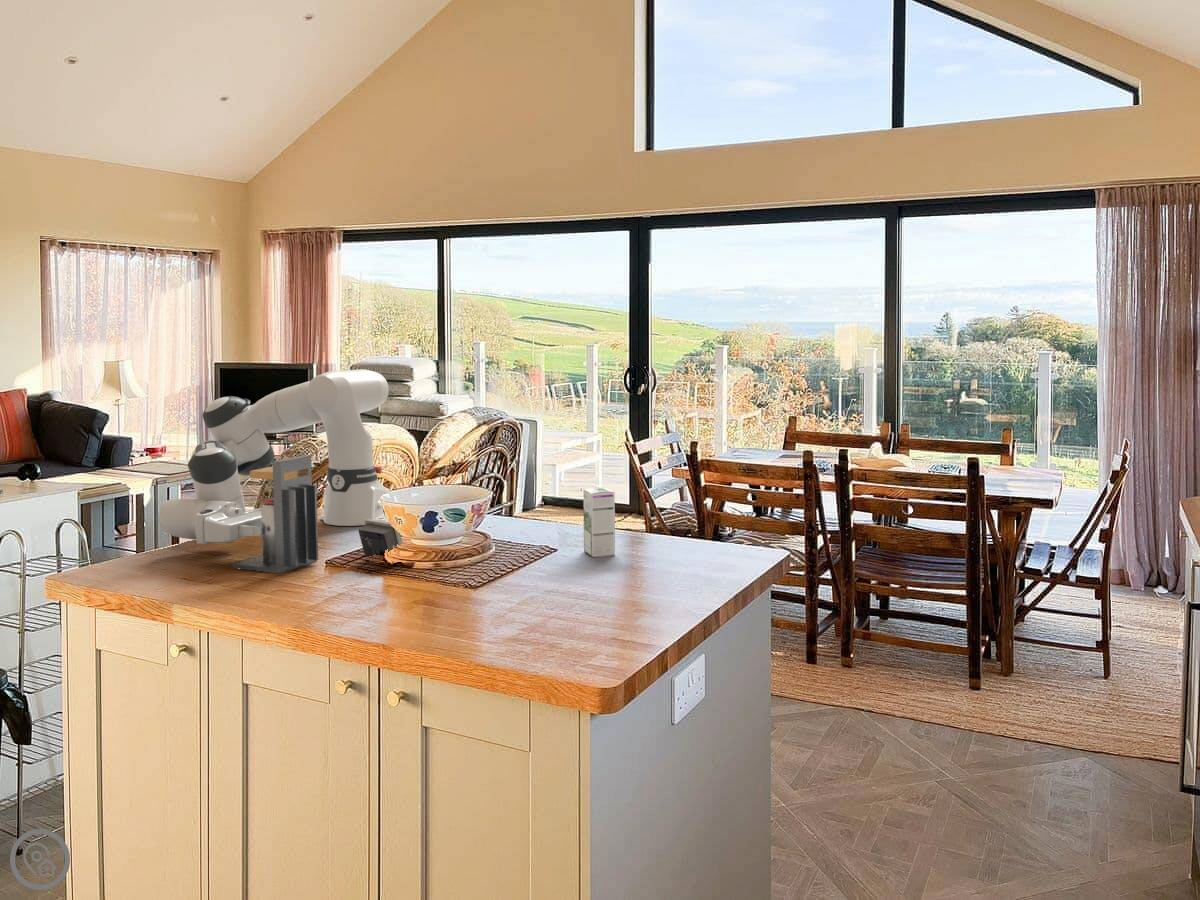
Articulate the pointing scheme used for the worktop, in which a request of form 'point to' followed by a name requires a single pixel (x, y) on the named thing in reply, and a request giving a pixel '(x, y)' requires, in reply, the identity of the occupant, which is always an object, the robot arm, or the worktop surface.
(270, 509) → the can
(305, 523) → the bracket
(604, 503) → the syrup box
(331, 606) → the worktop surface
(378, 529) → the electrical switch
